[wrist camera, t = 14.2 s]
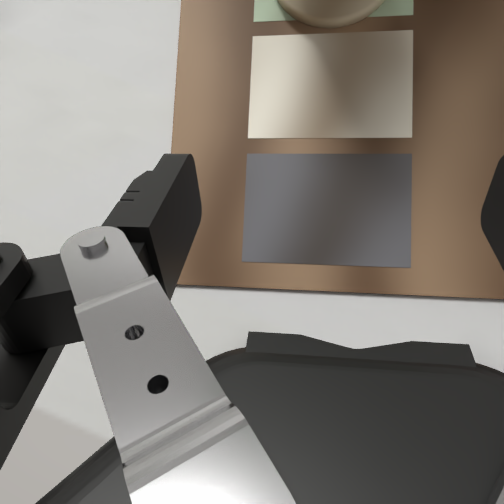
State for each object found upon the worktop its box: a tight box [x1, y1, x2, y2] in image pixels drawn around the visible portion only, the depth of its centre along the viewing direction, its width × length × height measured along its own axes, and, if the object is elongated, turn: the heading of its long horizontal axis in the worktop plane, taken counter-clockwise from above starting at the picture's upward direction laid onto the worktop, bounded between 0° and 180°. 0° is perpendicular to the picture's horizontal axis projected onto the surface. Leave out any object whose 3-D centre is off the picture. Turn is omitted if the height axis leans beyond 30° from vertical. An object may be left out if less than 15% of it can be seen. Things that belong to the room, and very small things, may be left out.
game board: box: [171, 0, 504, 299], centre depth 18 cm, size 20×22×1 cm
